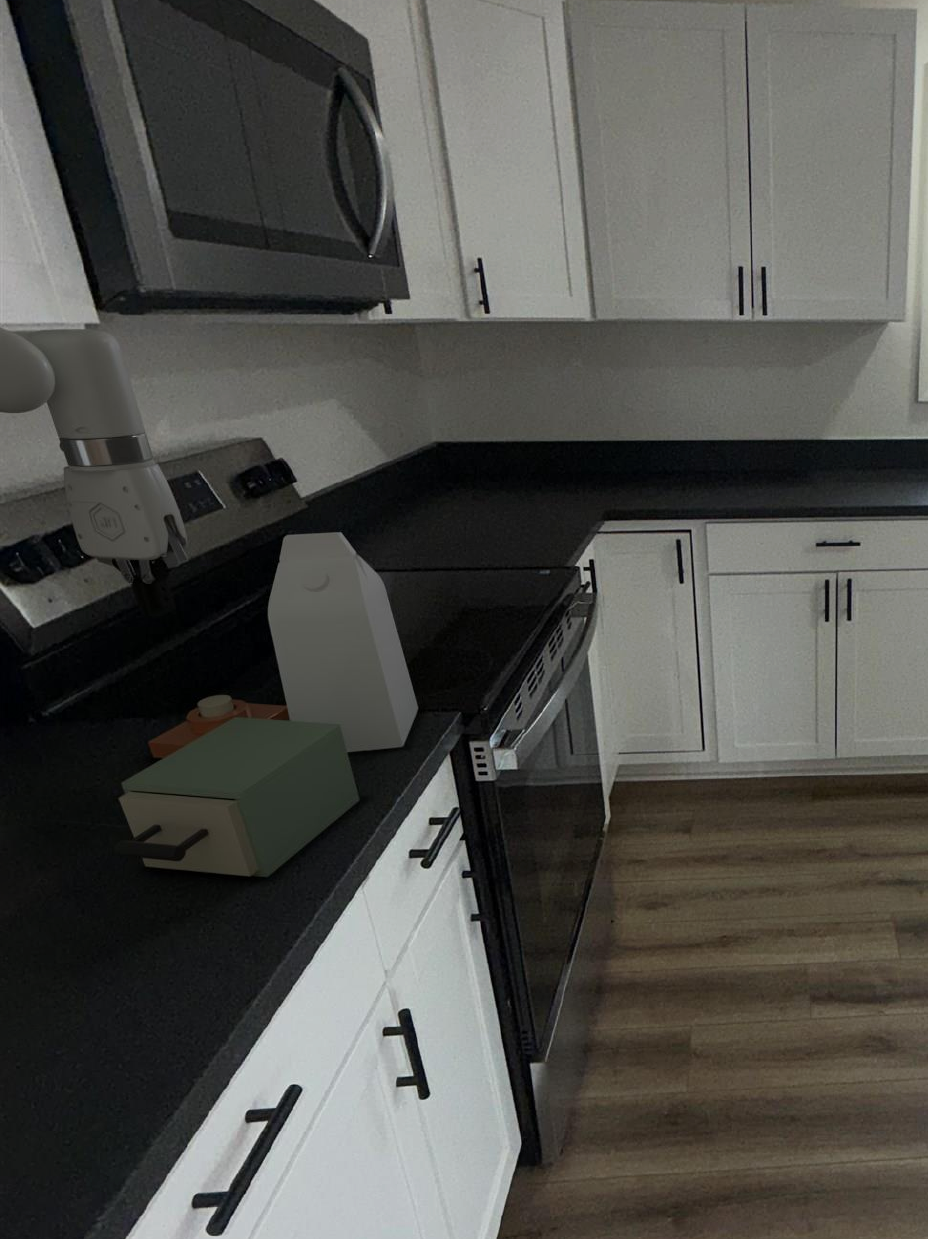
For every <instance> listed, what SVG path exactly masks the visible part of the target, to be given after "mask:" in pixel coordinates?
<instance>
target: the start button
mask: <svg viewBox="0 0 928 1239" xmlns="http://www.w3.org/2000/svg"><path fill="white" fill-rule="evenodd" d="M232 700H233V699H232V697H231V696H230V695H228V694H216V695H212V696H207V697H205V698H202V699H201V700H199V701H198V702H197V707H198V708H199V711H200V714H201V717H202V718H211V717H218V716H222V715H225V714H228V713H230V712H232V711H234V710H235V708H234V705H233V702H232Z"/></svg>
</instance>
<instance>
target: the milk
mask: <svg viewBox="0 0 928 1239" xmlns="http://www.w3.org/2000/svg"><path fill="white" fill-rule="evenodd" d="M281 545H282V546H281V548H280V549H281V550H280V554H279V562H278V563H277V568H276V572H275V576H274V580H273V583H272V588H271V590H270V596H269V600H268V605H267V620H268V625H269V629H270V635H271V638H272V642H273V647H274V653H275V657H276V662H277V666H278V672H279V676H280V680H281V685H282V689H283V694H284V698H285V703H286V706H287V708H288V713H289V718H290V721H299V722H314V723H328V724H340V727H341V731H342V735H343V738H344V742H345V746H346V750H347V753H353V752H364V751H375V750H384V749H386V750H387V749H394V748H395V749H396V748H403V747H404V746H405V743H406V740H407V738H408V735H409V733H410V731H411V728H412V726H413V723H414V721H415V718H416V716H417V714H418V710H419V705H418V703H417V698H416V694H415V692H414V688H413V684H412V680H411V677H410V673H409V669H408V666H407V662H406V659H405V655H404V652H403V648H402V644H401V640H400V637H399V633H398V629H397V626H396V623H395V618H394V614H393V611H392V606H391V604H390V600H389V597H388V593H387V589H386V587H385V583H384V581H383V579H382V578H381V576H380V575H379V574H378V572H376V571H375V569H374V570H373V569H372V568H371V567H370V566H369V565H368V564H367V563H366V562H365V561H366V560H364V559H363V557H361V556H360V555H359V554H357V552H356V550H355V549H354V547H353V546H352V545H351V543H350V542H349V540H347V538H346V537H345V535H344V534H343V533H342V531H339V532H338V531H337V532H320V533H319V532H317V533H297V534H286V535H285V536H284V537H283V539H282V544H281Z"/></svg>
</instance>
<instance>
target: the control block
mask: <svg viewBox="0 0 928 1239" xmlns="http://www.w3.org/2000/svg"><path fill="white" fill-rule="evenodd" d="M232 702H233V705H234V708H235V710H234V711H232V712H230V713H228V714H225V715H222V716H218V717H211V718H202V717H201V714H200V711H199V708H198V706H197V707H195V708H193V709H192V710H190V711H188V713H187V715H186V717H185V719H186V720H185V721H184V722H182V723H180V724H179V725H176V726H174V727H173V728H171V729H169V730H167V731H166V732H163V733H162V734H160V735H158V736H156V737H154V738H152V739H150V740H149V741H147V744H148V747H149V750H150V752H151V755H152V757H153V758H155V759H163V758H165V757H167V756H169V755H170V754H172V753H174V752H176V751H177V750H179V749H181V748H182V747H184V746H186V745H188V744H189V743H191V742H193V741H195V740H196V739H198V738H200V737H201V736H203V735H205V734H207V733H208V732H210V731H212V730H214V729H215V728H217V727H219V726H221V725H222V724H224V723H226V722H227V721H229V720H231V719H233V718H234V717H242V718H256V719H270V720H285V721H290V718H289V713H288V708H287V705H281V704H280V705H279V704H268V703H267V704H266V703H265V704H264V703H251V702H246V701H244V700H242V699H232Z"/></svg>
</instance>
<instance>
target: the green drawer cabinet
mask: <svg viewBox="0 0 928 1239" xmlns="http://www.w3.org/2000/svg"><path fill="white" fill-rule="evenodd" d="M120 785H121V787H122V789H123V792H124V795H125V794H126V793H128V792H137V793H149V794H150V792H156V793H168V794H180V795H192V796H204V797H216V798H228V799H235V801H237V804H238V807H239V810H240V813H241V816H242V819H243V822H244V825H245V828H246V831H247V834H248V837H249V840H250V843H251V846H252V849H253V852H254V855H255V858H256V861H257V865H258V868H259V870H258V871H256V872H255V873H254V874H253V875H251V876H250V877H260V878H261V877H262V878H268V877H270V876H271V875H272V874H273V873H274V872H276V871H277V870H278V869H279V868H280V867H282V865H284V864H285V863H286V862H287V861H289V860H290V859H291V858H292V857H293V856H295V855H296V854H297V853H299V851H301V850H302V849H303V848H304V847H306V846H307V845H308V844H309V843H311V842H312V841H313V840H314V839H315V838H316V837H317V836H319V835H320V834H321V833H322V832H324V831H326V829H327V828H328V827H329V826H331V825H332V824H333V823H334V822H335V821H337V820H338V819H340V817H342V816H343V815H344V814H345V813H346V812H348V811H349V810H350V809H351V808H352V807H353V806H355V805H356V804H357V803H358V802H360V796H359V793H358V789H357V785H356V782H355V777H354V773H353V769H352V766H351V761H350V757H349V754H348V752H347V750H346V746H345V742H344V738H343V735H342V731H341V727H340V724H328V723H314V722H299V721H285V720H270V719H256V718H242V717H234V718H233V719H231V720H229V721H227V722H226V723H224V724H222V725H221V726H219V727H217V728H215V729H214V730H212V731H210V732H208V733H207V734H205V735H203V736H201V737H200V738H198V739H196V740H195V741H193V742H191V743H189V744H188V745H186V746H184V747H182V748H181V749H179V750H177V751H176V752H174V753H172V754H170V755H169V756H167V757H165V758H161V759H160V760H158V761H156V762H154V763H153V764H151V765H150V766H148V767H146V768H144V769H143V770H141V771H139V772H137V773H136V774H133V775H132V776H130V777H128V778H127V779H125V780H124V781H122V782H121V783H120Z"/></svg>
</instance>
